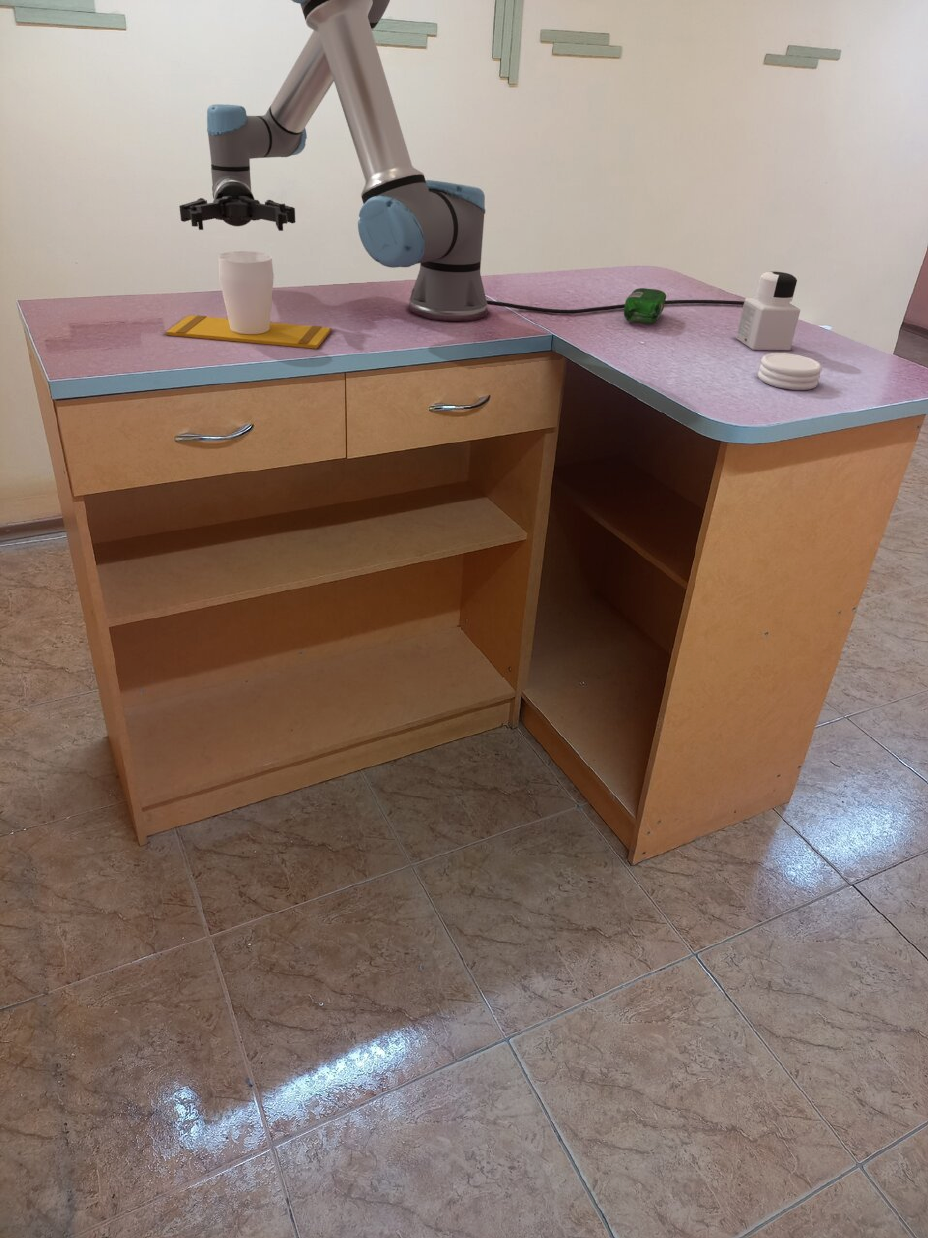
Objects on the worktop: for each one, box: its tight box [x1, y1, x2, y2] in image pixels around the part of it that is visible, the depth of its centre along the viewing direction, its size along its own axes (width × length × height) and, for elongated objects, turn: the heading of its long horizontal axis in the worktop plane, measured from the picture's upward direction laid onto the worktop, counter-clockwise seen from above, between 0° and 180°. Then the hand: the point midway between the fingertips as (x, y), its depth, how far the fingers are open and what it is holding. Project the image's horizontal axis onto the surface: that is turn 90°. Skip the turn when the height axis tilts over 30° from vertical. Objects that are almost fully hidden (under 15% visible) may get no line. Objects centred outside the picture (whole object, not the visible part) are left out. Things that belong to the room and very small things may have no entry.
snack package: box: [623, 287, 667, 325], centre depth 180 cm, size 7×16×5 cm, turn 161°
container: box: [736, 271, 801, 351], centre depth 168 cm, size 8×8×13 cm
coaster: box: [757, 352, 823, 391], centre depth 152 cm, size 10×10×4 cm
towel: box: [165, 314, 332, 350], centre depth 156 cm, size 26×11×1 cm, turn 85°
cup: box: [218, 250, 275, 335], centre depth 153 cm, size 9×9×12 cm
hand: (240, 221), depth 155 cm, fingers open, 13 cm apart
